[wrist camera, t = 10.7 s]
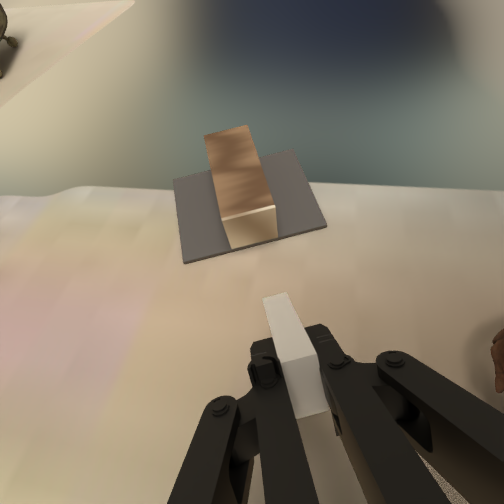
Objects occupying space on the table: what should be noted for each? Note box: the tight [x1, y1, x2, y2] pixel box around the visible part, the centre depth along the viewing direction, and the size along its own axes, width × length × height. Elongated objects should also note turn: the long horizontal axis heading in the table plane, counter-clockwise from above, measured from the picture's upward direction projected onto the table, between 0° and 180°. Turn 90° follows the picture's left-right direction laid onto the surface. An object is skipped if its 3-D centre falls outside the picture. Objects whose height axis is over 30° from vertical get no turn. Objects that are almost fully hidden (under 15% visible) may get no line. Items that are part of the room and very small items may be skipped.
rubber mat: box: [173, 149, 327, 264], centre depth 31 cm, size 14×11×1 cm
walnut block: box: [204, 125, 278, 249], centre depth 29 cm, size 4×4×11 cm
